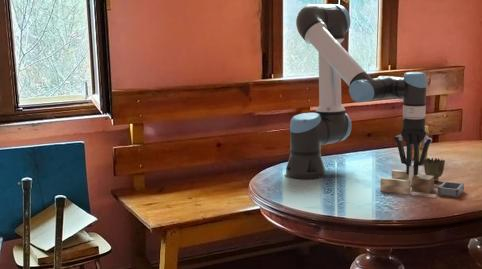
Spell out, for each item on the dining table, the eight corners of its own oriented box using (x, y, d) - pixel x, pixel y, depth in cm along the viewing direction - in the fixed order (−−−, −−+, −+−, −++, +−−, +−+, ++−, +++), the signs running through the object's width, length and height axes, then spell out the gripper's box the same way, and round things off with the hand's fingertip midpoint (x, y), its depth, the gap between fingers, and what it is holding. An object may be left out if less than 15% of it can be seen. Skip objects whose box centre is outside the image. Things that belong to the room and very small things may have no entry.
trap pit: (437, 195, 211) (438, 187, 210) (444, 189, 218) (444, 181, 218) (457, 198, 208) (458, 189, 207) (463, 191, 215) (463, 183, 215)
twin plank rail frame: (380, 190, 218) (380, 178, 217) (392, 181, 230) (393, 169, 229) (435, 197, 208) (436, 184, 208) (445, 187, 220) (446, 175, 219)
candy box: (428, 162, 258) (429, 126, 255) (418, 163, 257) (419, 126, 254) (417, 158, 266) (418, 122, 263) (408, 158, 265) (409, 123, 262)
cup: (441, 184, 224) (441, 163, 223) (420, 182, 228) (421, 160, 226) (446, 180, 230) (447, 158, 229) (426, 177, 234) (427, 156, 233)
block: (411, 191, 217) (412, 177, 216) (416, 187, 222) (416, 173, 221) (429, 193, 214) (429, 179, 213) (433, 189, 219) (434, 175, 218)
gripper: (391, 117, 215) (390, 184, 219) (430, 120, 208) (427, 188, 213) (398, 114, 221) (396, 179, 225) (436, 117, 214) (433, 183, 219)
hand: (411, 183), depth 219 cm, fingers closed
